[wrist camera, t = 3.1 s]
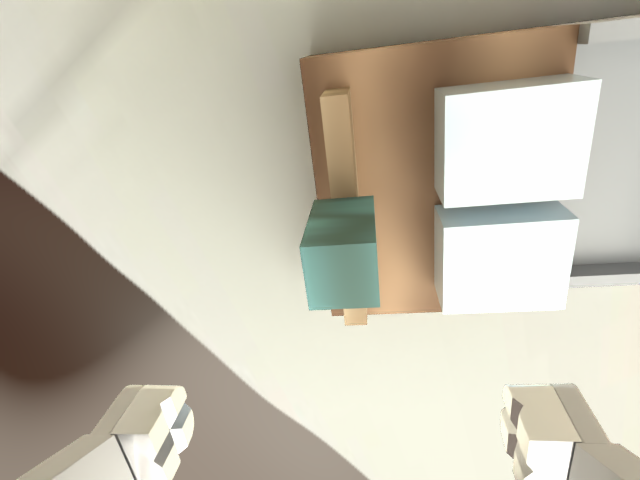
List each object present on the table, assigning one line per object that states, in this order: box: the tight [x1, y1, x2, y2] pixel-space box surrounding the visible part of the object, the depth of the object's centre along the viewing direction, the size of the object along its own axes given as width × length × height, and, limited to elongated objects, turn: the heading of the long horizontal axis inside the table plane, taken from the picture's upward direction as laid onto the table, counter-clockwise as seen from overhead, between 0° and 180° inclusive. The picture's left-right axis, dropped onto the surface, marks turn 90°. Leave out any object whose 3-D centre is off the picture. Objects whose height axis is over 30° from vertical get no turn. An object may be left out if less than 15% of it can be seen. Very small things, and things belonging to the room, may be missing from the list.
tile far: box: [434, 200, 579, 314], centre depth 22 cm, size 6×5×3 cm
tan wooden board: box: [300, 24, 580, 316], centre depth 24 cm, size 12×15×4 cm
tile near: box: [434, 73, 602, 208], centre depth 19 cm, size 6×5×3 cm
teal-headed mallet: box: [300, 87, 380, 326], centre depth 19 cm, size 3×12×8 cm, turn 6°
